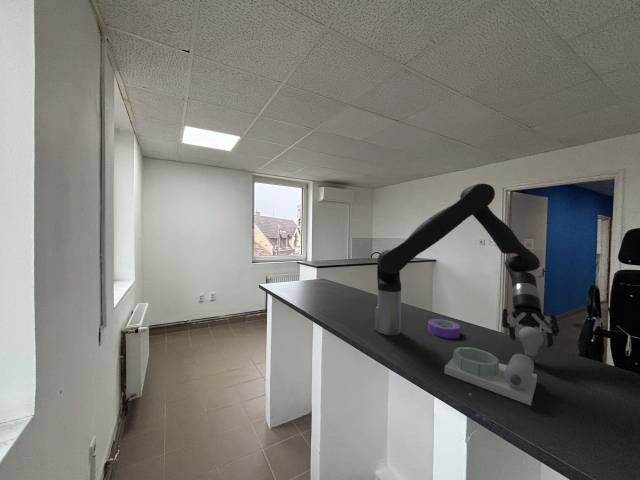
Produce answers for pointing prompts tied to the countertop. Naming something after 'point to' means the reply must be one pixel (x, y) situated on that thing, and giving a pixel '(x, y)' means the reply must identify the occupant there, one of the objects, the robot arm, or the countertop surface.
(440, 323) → the masking tape
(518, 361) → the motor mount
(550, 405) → the countertop surface
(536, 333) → the lightbulb
